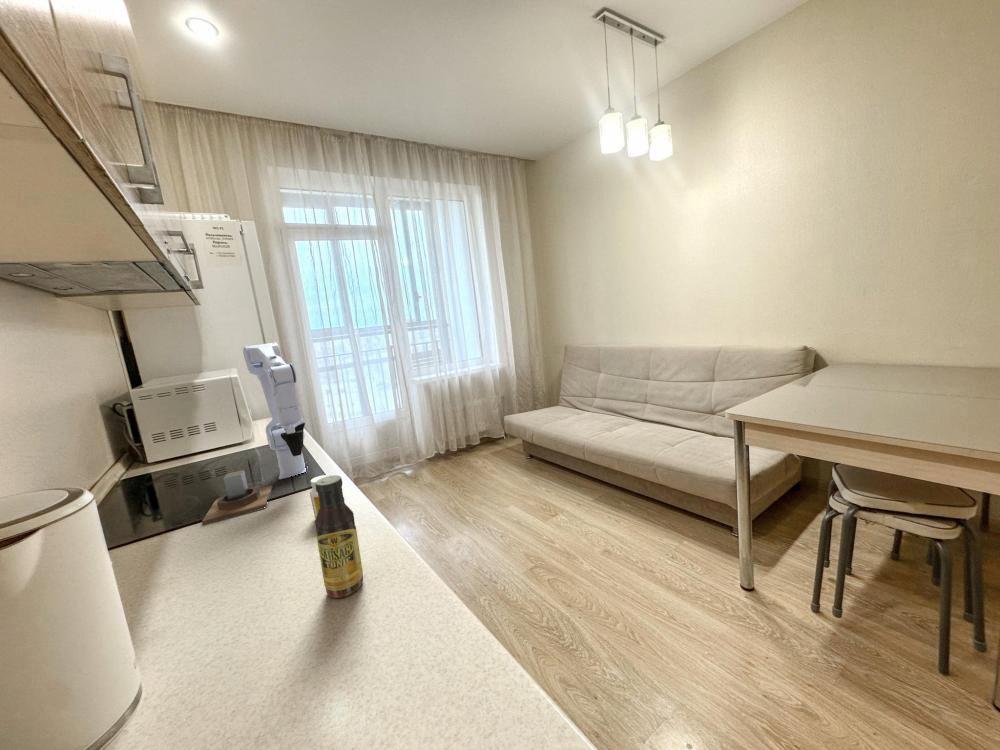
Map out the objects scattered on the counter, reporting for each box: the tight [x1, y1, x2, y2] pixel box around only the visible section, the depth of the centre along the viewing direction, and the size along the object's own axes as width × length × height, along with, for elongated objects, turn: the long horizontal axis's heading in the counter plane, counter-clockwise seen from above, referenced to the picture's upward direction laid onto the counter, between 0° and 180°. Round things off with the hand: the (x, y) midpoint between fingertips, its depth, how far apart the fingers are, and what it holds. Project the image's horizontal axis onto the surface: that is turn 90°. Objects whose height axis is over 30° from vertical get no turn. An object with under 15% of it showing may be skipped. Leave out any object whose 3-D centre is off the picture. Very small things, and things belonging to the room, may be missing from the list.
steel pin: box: [223, 469, 250, 502], centre depth 106 cm, size 4×4×8 cm
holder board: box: [201, 484, 274, 526], centre depth 107 cm, size 14×14×3 cm
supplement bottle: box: [309, 474, 328, 520], centre depth 94 cm, size 5×5×10 cm
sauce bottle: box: [314, 474, 364, 599], centre depth 66 cm, size 7×6×20 cm
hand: (298, 451), depth 114 cm, fingers open, 7 cm apart
